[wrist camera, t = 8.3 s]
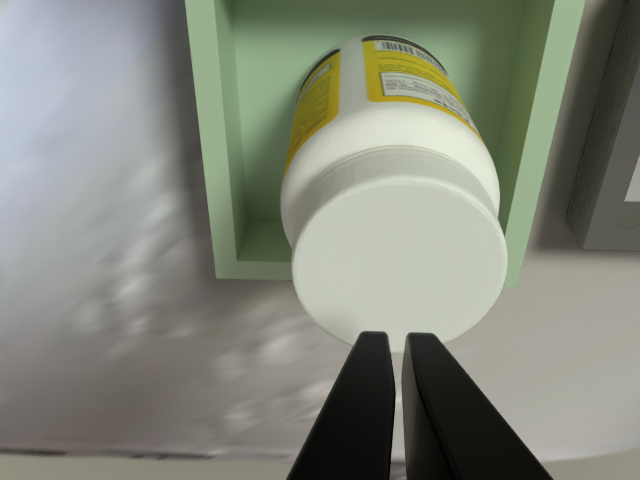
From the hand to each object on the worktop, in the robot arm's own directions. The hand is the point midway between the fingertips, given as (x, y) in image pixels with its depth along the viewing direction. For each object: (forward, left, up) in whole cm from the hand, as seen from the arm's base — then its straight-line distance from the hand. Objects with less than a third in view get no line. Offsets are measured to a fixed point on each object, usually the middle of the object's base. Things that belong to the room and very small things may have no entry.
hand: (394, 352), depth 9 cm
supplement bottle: (0, 0, -11) cm, 11 cm away
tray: (0, 0, -11) cm, 11 cm away
